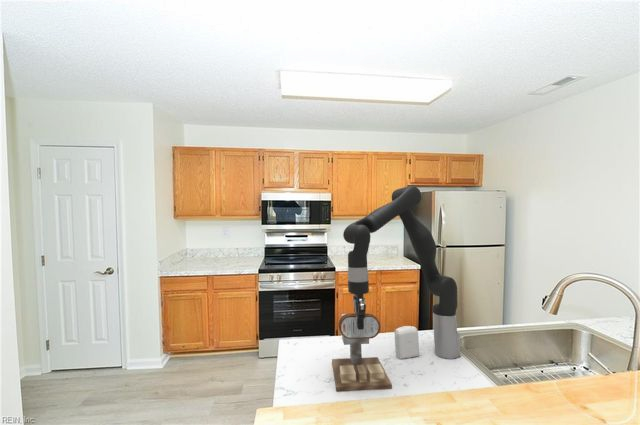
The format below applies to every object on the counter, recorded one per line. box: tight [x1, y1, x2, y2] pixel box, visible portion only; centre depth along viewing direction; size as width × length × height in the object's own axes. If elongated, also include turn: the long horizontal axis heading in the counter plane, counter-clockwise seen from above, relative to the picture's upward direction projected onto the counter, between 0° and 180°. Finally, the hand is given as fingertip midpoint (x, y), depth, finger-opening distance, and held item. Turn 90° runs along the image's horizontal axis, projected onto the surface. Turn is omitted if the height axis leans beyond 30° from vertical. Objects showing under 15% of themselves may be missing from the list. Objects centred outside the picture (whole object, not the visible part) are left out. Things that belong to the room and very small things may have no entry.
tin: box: [338, 312, 381, 340], centre depth 98 cm, size 15×3×8 cm, turn 92°
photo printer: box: [394, 325, 420, 360], centre depth 116 cm, size 10×4×12 cm, turn 104°
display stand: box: [331, 313, 393, 392], centre depth 103 cm, size 19×20×20 cm
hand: (359, 327), depth 99 cm, fingers closed on tin, 2 cm apart
